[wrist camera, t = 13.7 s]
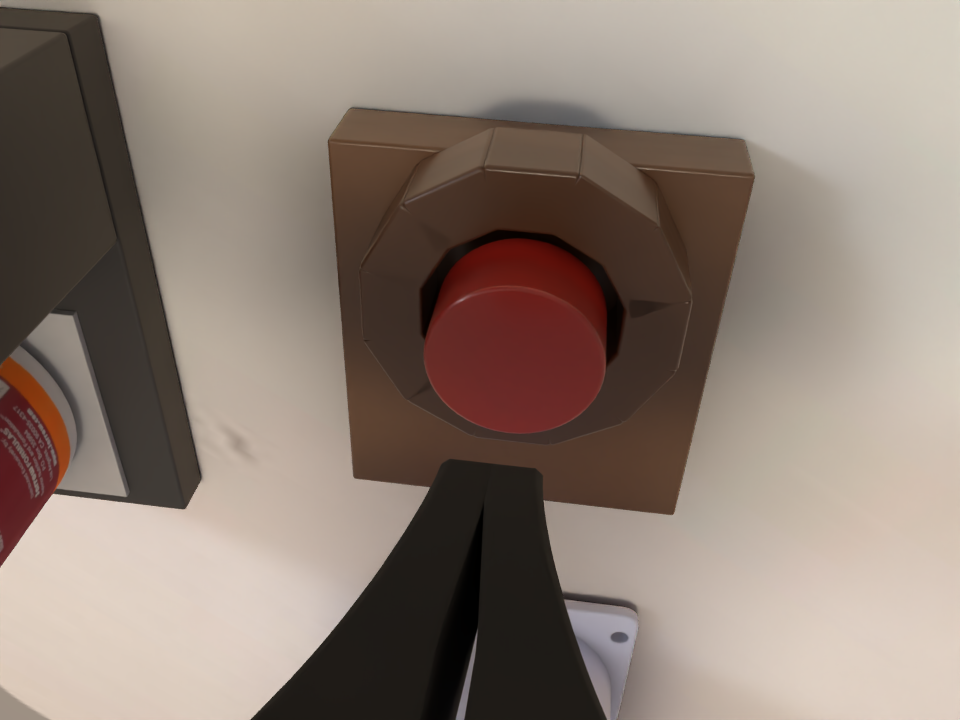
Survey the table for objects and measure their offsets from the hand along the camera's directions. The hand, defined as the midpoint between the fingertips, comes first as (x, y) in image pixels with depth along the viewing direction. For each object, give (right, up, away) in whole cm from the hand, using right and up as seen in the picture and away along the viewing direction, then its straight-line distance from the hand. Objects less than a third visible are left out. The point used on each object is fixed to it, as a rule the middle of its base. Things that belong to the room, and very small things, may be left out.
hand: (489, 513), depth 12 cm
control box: (+1, +3, +8) cm, 9 cm away
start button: (+1, +3, +4) cm, 5 cm away
